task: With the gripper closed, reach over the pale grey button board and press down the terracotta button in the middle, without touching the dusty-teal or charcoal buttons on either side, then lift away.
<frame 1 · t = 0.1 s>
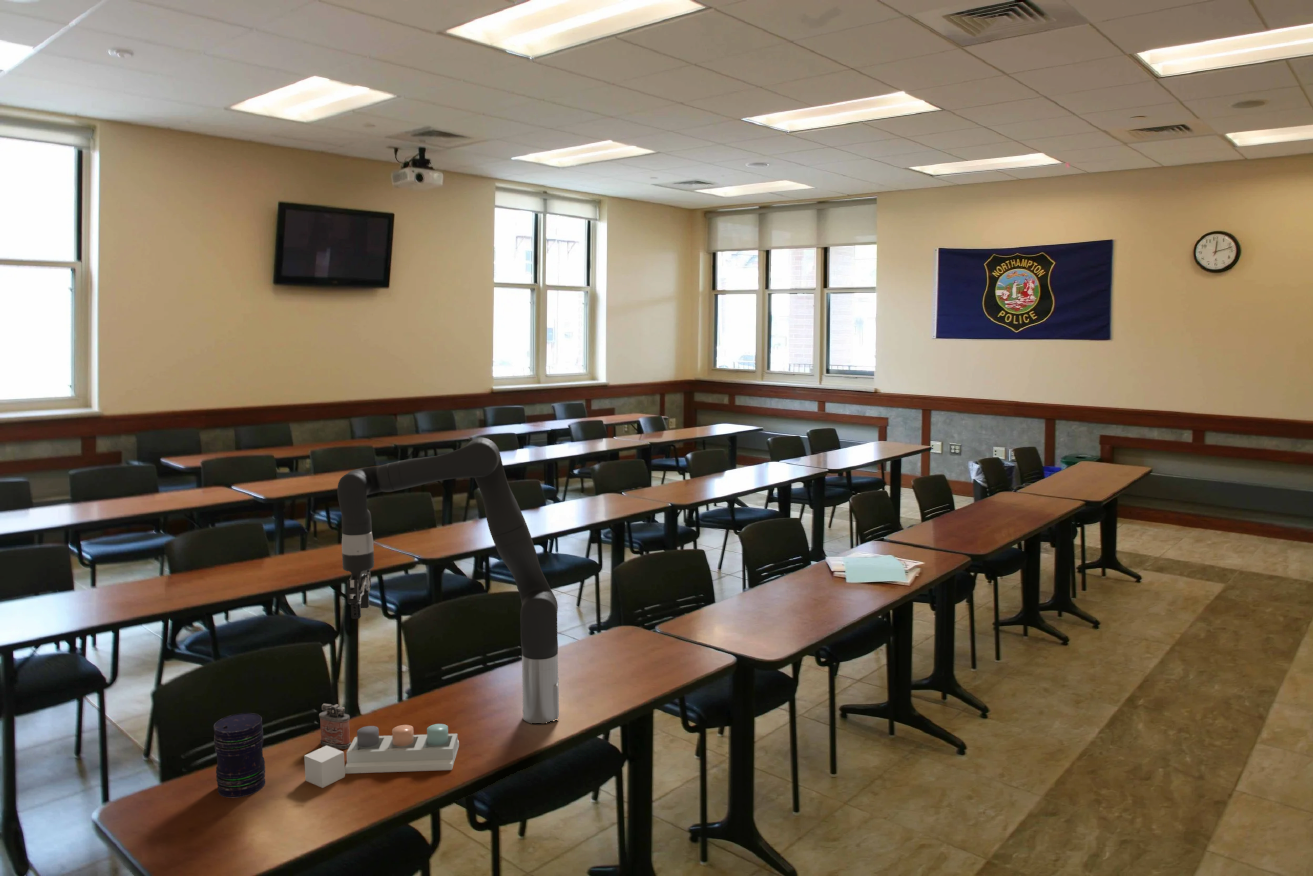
hand: (360, 612, 233), 29 cm above the table, fingers open, 8 cm apart
button board: (403, 759, 217), on the table
charcoal button: (368, 736, 216), point 6 cm above the table, slide at 0.0 cm
white cube: (325, 779, 208), on the table
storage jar: (241, 787, 204), on the table
teal button: (437, 734, 217), point 6 cm above the table, slide at 0.0 cm
terracotta button: (402, 735, 216), point 6 cm above the table, slide at 0.0 cm
lighter: (335, 745, 225), on the table
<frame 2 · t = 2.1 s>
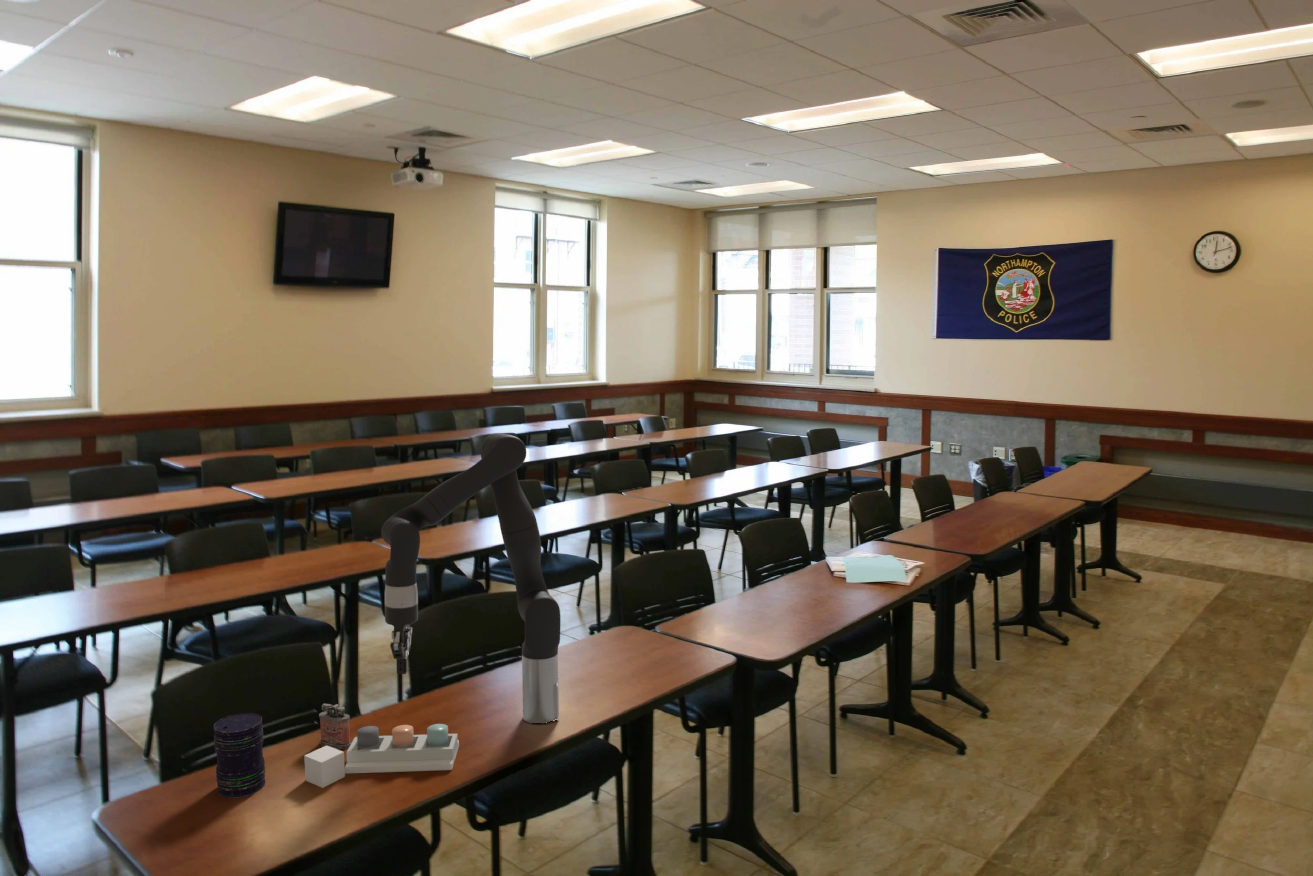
hand: (402, 672, 219), 19 cm above the table, fingers closed
nothing on the table moved.
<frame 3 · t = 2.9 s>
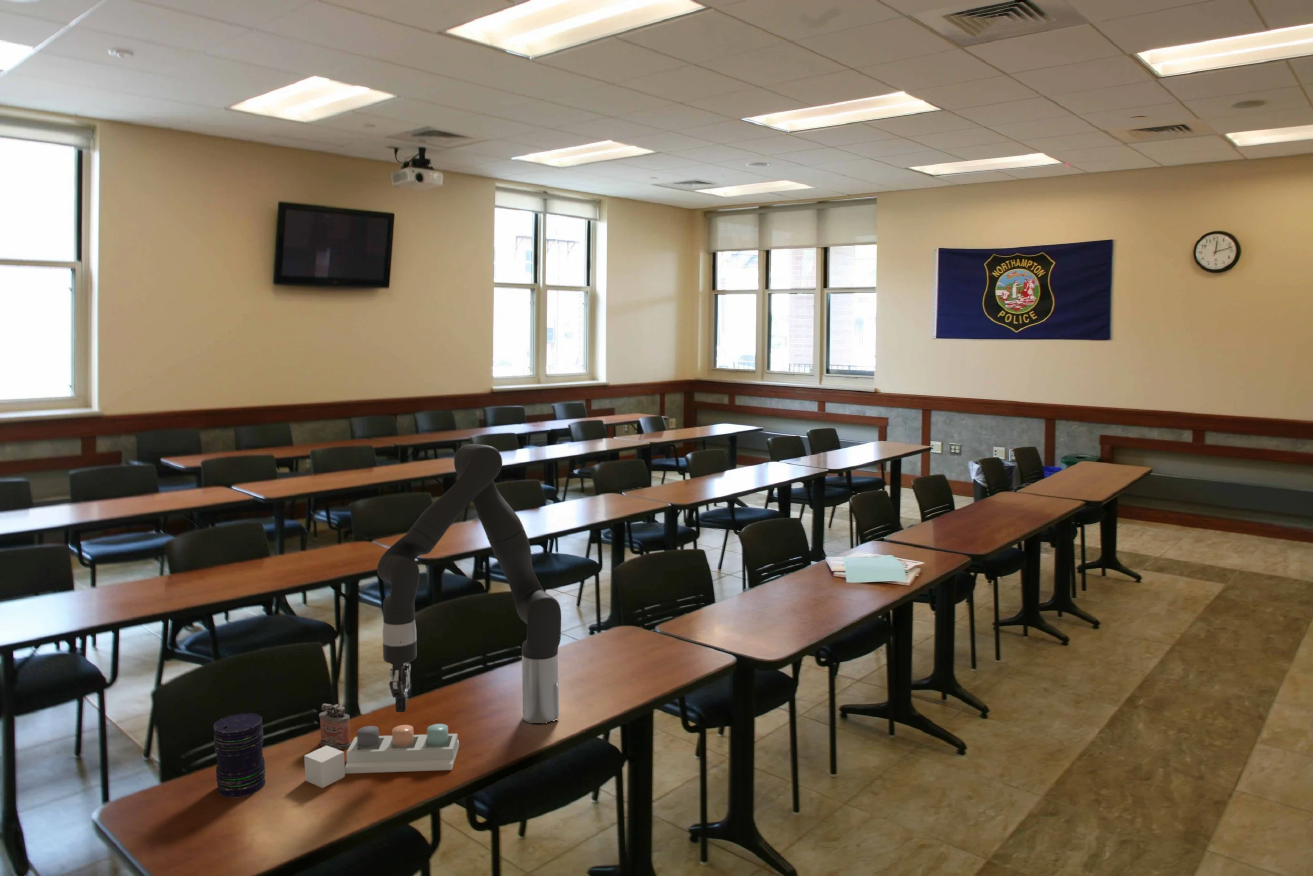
hand: (401, 710, 215), 12 cm above the table, fingers closed
nothing on the table moved.
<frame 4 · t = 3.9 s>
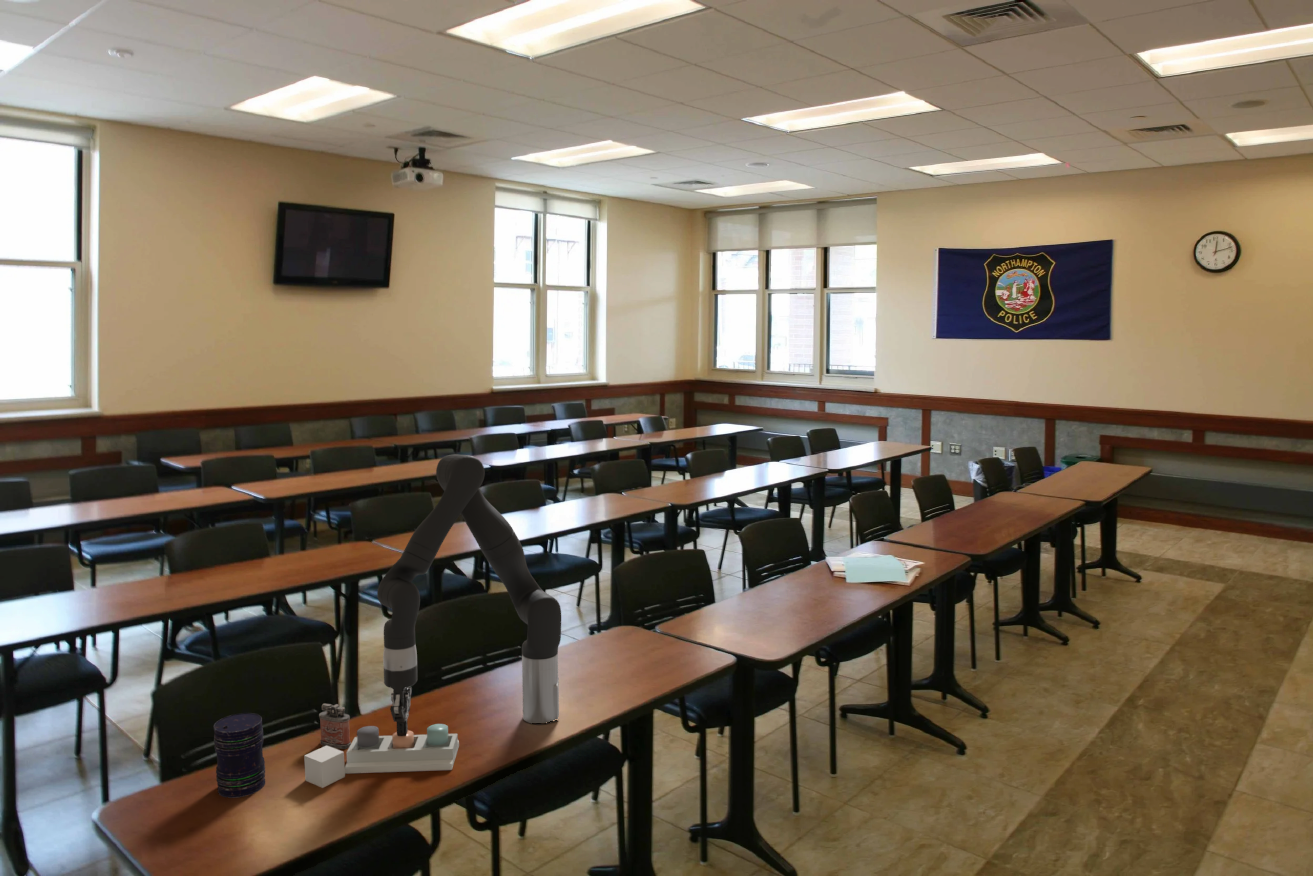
hand: (402, 734, 216), 6 cm above the table, fingers closed
terracotta button: (403, 740, 216), point 5 cm above the table, slide at -1.3 cm, touching gripper
everything else where it was.
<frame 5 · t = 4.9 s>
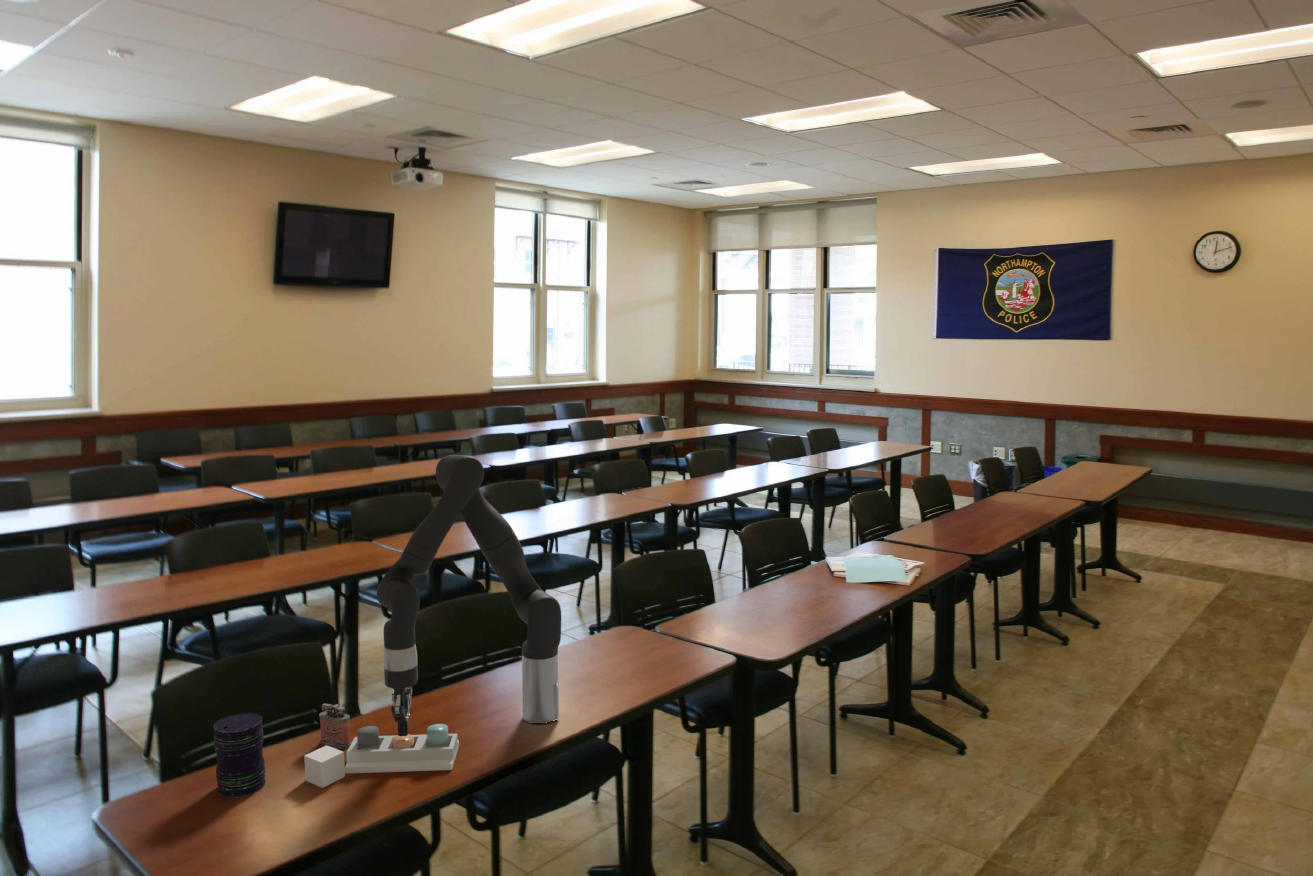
hand: (403, 734, 216), 6 cm above the table, fingers closed
terracotta button: (403, 744, 216), point 4 cm above the table, slide at -2.3 cm
everything else where it was.
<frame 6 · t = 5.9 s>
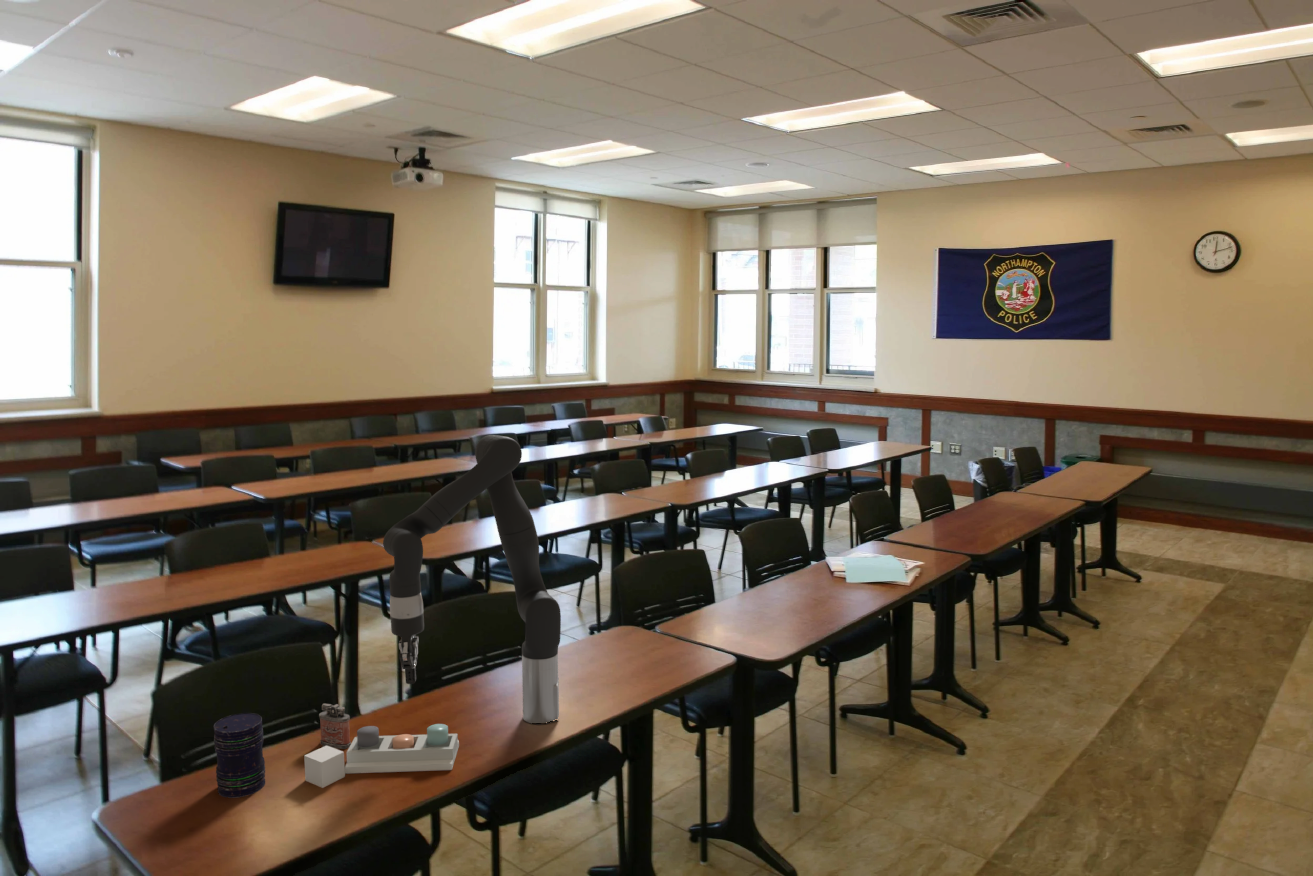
hand: (411, 682, 219), 17 cm above the table, fingers closed
nothing on the table moved.
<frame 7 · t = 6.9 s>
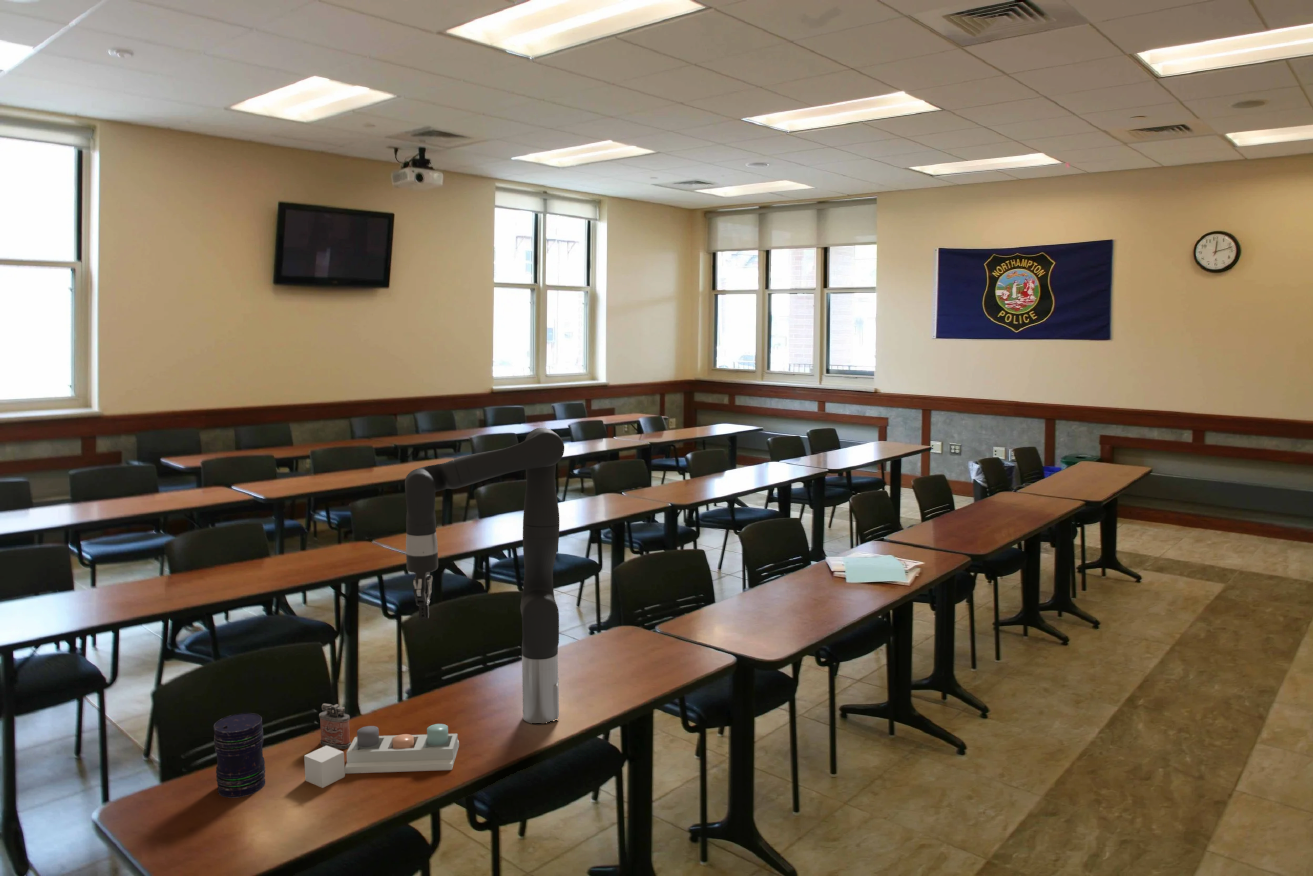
hand: (424, 619, 228), 29 cm above the table, fingers closed
nothing on the table moved.
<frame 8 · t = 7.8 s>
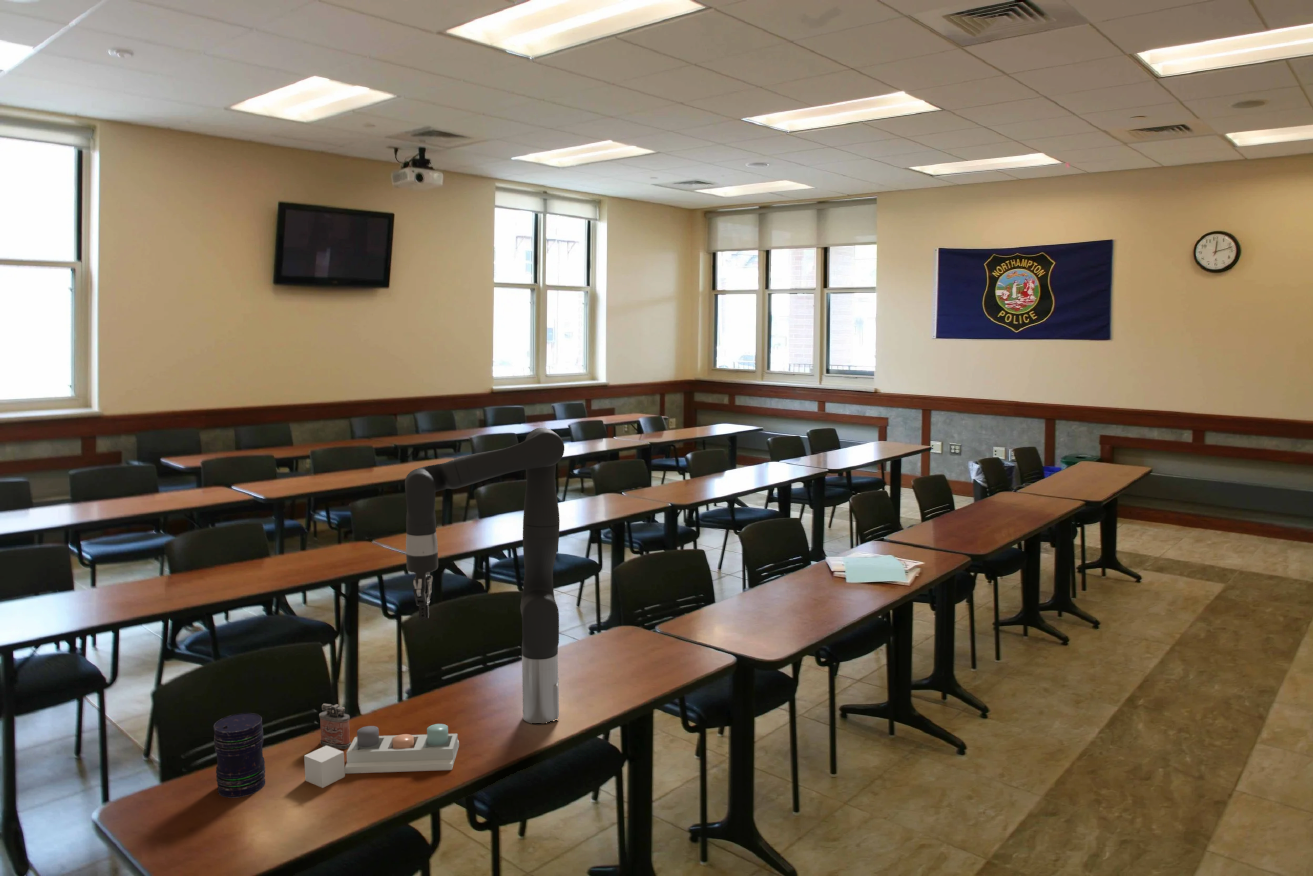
hand: (424, 619, 228), 29 cm above the table, fingers closed
nothing on the table moved.
at the end: terracotta button slide at -2.3 cm; teal button slide at 0.0 cm; charcoal button slide at 0.0 cm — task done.
